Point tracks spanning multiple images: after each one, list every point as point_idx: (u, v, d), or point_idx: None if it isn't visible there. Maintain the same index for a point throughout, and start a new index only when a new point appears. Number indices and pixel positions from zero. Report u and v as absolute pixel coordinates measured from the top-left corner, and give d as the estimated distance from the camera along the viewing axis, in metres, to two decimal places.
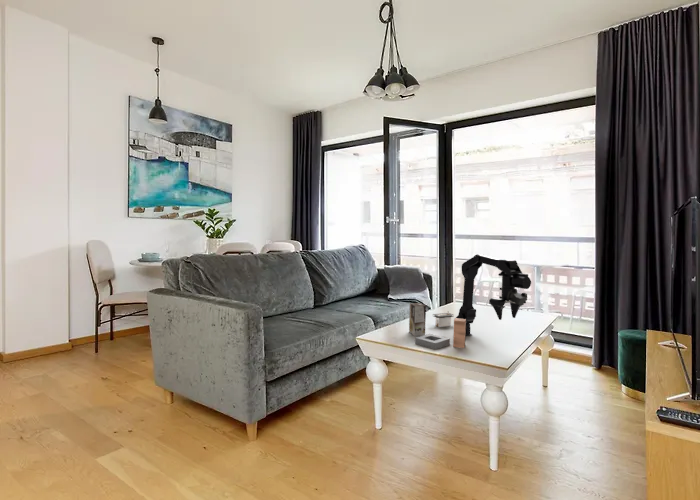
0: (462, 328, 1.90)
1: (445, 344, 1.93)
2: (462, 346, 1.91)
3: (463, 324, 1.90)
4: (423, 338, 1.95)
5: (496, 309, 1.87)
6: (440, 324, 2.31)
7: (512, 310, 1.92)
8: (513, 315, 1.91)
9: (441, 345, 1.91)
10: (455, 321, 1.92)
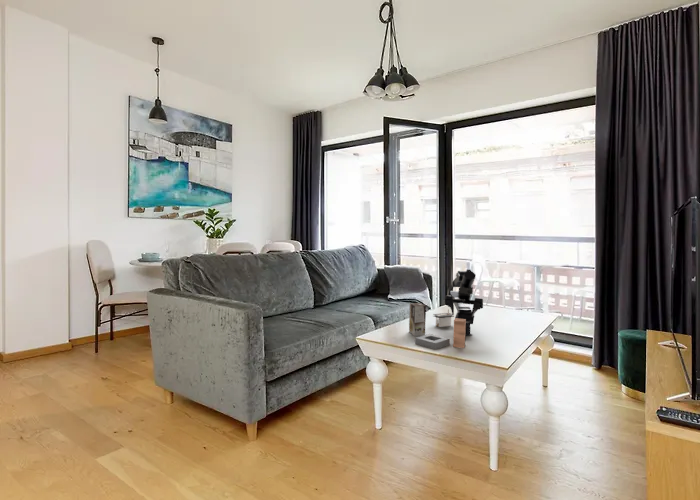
0: (462, 328, 1.90)
1: (445, 344, 1.93)
2: (462, 346, 1.91)
3: (463, 324, 1.90)
4: (423, 338, 1.95)
5: None
6: (440, 324, 2.31)
7: None
8: None
9: (441, 345, 1.91)
10: (455, 321, 1.92)
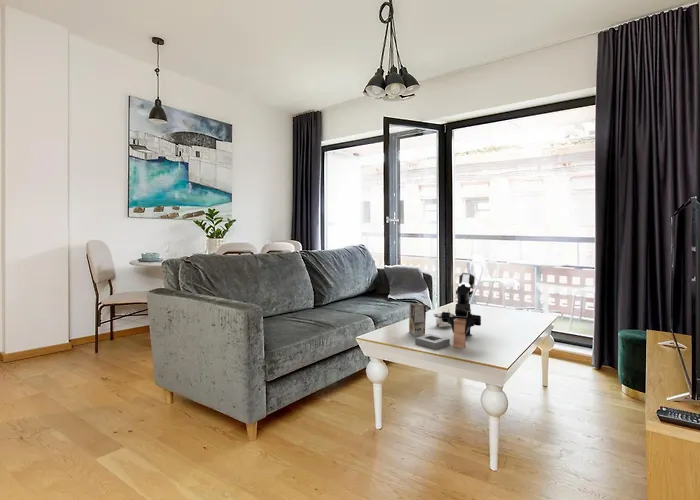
0: (462, 328, 1.90)
1: (445, 344, 1.93)
2: (462, 346, 1.91)
3: (463, 324, 1.90)
4: (423, 338, 1.95)
5: (451, 325, 1.97)
6: (441, 324, 2.32)
7: None
8: None
9: (441, 345, 1.91)
10: (455, 321, 1.91)
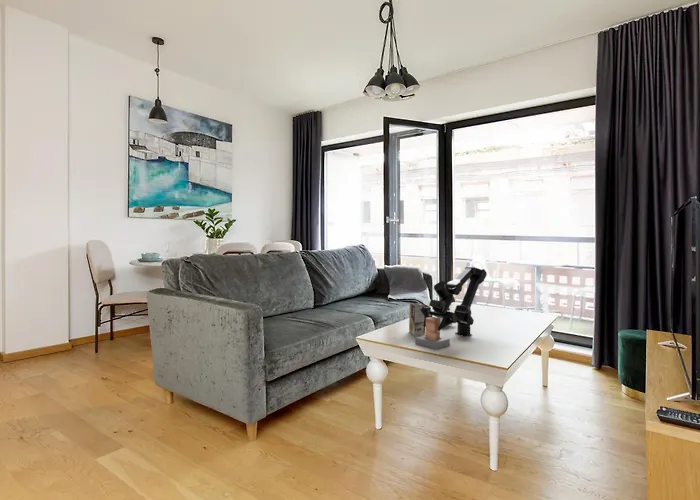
0: (432, 326, 1.93)
1: (445, 344, 1.93)
2: None
3: (433, 323, 1.93)
4: (423, 338, 1.95)
5: None
6: None
7: None
8: None
9: (441, 345, 1.91)
10: (427, 319, 1.95)
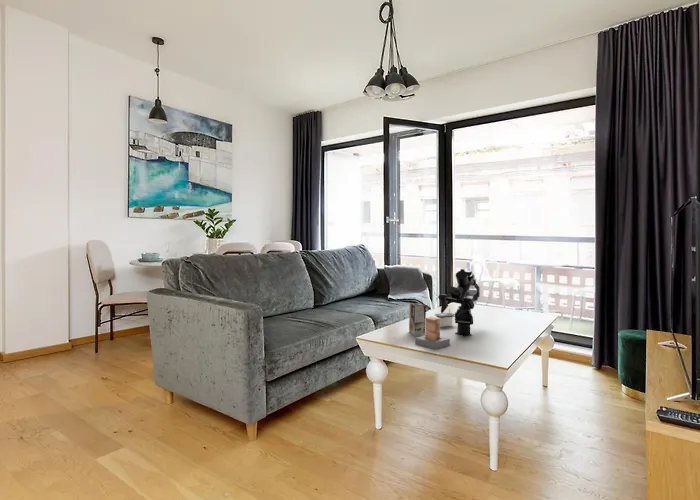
0: (432, 326, 1.93)
1: (445, 344, 1.93)
2: None
3: (433, 323, 1.93)
4: (423, 338, 1.95)
5: None
6: (442, 324, 2.32)
7: None
8: None
9: (441, 345, 1.91)
10: (427, 319, 1.95)
